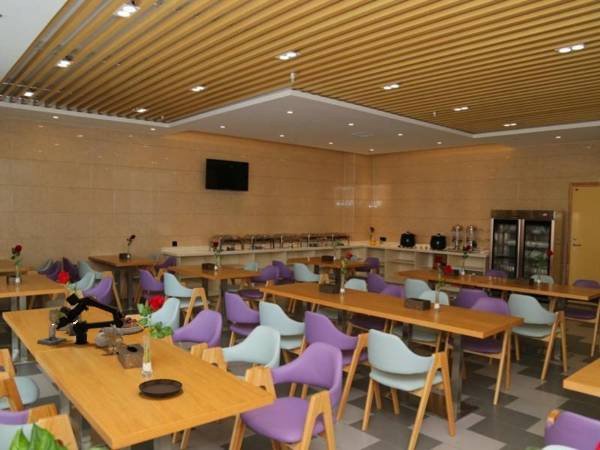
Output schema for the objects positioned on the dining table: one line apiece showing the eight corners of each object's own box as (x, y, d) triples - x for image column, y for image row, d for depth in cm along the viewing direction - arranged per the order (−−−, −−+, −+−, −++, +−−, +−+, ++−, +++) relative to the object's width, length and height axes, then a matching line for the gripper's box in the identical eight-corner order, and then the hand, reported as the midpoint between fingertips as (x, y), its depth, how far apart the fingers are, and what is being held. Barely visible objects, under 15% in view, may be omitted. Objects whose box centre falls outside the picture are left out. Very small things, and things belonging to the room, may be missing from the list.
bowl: (135, 336, 352) (135, 325, 352) (92, 335, 353) (92, 323, 353) (149, 327, 382) (149, 316, 382) (109, 325, 383) (109, 315, 383)
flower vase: (95, 358, 320) (110, 356, 302) (87, 329, 321) (102, 326, 303) (114, 351, 329) (130, 349, 311) (107, 323, 330) (122, 320, 312)
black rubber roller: (78, 334, 351) (78, 324, 350) (73, 336, 346) (73, 326, 346) (73, 334, 352) (73, 324, 352) (68, 335, 348) (68, 325, 348)
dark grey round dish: (66, 341, 332) (66, 338, 332) (51, 345, 321) (51, 342, 321) (53, 339, 336) (53, 336, 336) (37, 343, 325) (37, 340, 325)
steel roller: (56, 341, 330) (57, 323, 330) (53, 343, 326) (53, 324, 326) (51, 341, 331) (51, 323, 330) (47, 343, 327) (47, 324, 326)
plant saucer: (186, 385, 257) (186, 378, 257) (177, 400, 236) (177, 393, 236) (144, 384, 256) (145, 377, 256) (132, 399, 235) (133, 392, 235)
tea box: (61, 331, 360) (62, 310, 359) (54, 328, 366) (54, 308, 366) (81, 327, 372) (82, 307, 371) (74, 325, 378) (74, 306, 377)
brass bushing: (73, 332, 356) (74, 320, 356) (69, 333, 352) (69, 321, 352) (69, 332, 357) (69, 319, 357) (64, 333, 354) (65, 320, 354)
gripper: (74, 299, 338) (57, 315, 338) (61, 304, 319) (44, 321, 319) (86, 311, 338) (69, 327, 338) (74, 317, 320) (56, 334, 319)
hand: (59, 327), depth 329 cm, fingers open, 9 cm apart
